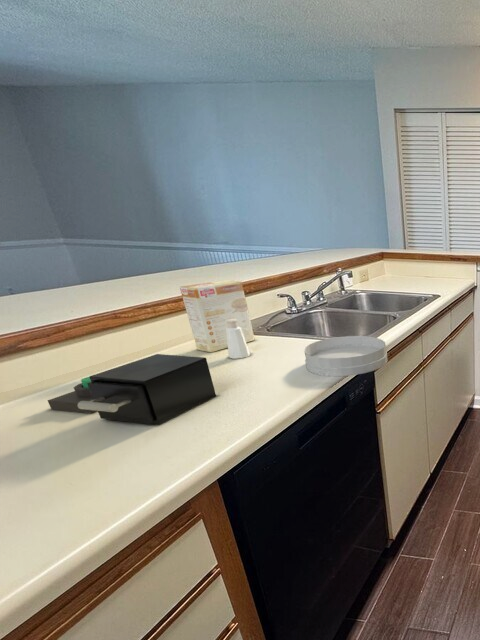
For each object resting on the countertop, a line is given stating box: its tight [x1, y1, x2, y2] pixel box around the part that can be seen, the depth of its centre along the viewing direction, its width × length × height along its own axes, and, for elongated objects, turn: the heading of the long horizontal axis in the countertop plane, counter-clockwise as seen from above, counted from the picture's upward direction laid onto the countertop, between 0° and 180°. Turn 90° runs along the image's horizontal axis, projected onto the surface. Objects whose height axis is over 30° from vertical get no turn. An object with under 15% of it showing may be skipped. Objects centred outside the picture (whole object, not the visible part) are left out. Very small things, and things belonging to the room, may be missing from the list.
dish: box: [303, 335, 388, 377], centre depth 121 cm, size 22×22×5 cm
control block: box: [47, 382, 97, 414], centre depth 94 cm, size 10×12×4 cm
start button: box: [80, 376, 91, 388], centre depth 94 cm, size 4×4×2 cm
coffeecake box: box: [179, 279, 256, 353], centre depth 132 cm, size 15×7×20 cm, turn 157°
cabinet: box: [88, 353, 217, 426], centre depth 91 cm, size 15×13×10 cm
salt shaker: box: [226, 319, 251, 360], centre depth 123 cm, size 5×5×11 cm
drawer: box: [78, 381, 155, 424], centre depth 87 cm, size 18×11×8 cm, turn 171°
